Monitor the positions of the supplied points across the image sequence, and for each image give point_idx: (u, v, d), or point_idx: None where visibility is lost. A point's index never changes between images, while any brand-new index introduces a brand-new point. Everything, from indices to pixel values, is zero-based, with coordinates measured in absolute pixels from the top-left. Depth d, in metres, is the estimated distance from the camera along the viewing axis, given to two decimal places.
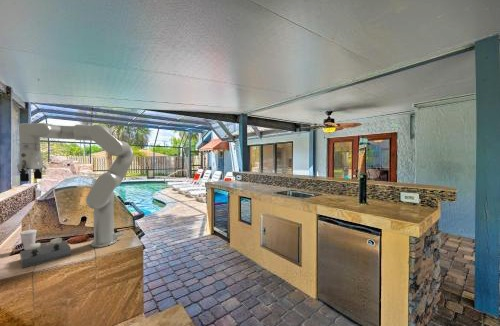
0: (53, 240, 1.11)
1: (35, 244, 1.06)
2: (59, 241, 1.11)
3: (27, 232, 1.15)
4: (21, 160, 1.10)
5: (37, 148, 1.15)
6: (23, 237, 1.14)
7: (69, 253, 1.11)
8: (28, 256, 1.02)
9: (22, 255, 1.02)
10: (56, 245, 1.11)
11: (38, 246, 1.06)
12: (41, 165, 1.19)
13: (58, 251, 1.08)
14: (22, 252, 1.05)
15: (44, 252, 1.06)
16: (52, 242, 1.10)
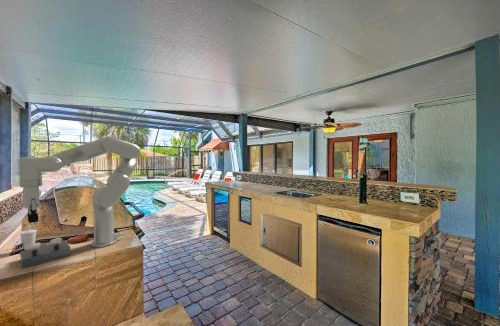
0: (53, 240, 1.11)
1: (35, 244, 1.06)
2: (59, 241, 1.11)
3: (27, 232, 1.15)
4: None
5: None
6: (23, 237, 1.14)
7: (69, 253, 1.11)
8: (28, 256, 1.02)
9: (22, 255, 1.02)
10: (56, 245, 1.11)
11: (38, 246, 1.06)
12: (24, 205, 1.00)
13: (58, 251, 1.08)
14: (22, 252, 1.05)
15: (44, 252, 1.06)
16: (52, 242, 1.10)
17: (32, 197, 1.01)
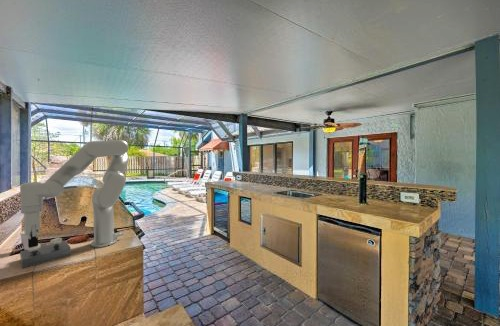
0: (53, 240, 1.11)
1: None
2: (59, 241, 1.11)
3: None
4: None
5: None
6: (23, 237, 1.14)
7: (69, 253, 1.11)
8: (28, 256, 1.02)
9: (22, 255, 1.02)
10: (56, 245, 1.11)
11: (38, 247, 1.06)
12: (25, 231, 1.01)
13: (58, 251, 1.08)
14: (22, 252, 1.05)
15: (44, 252, 1.06)
16: (52, 242, 1.10)
17: (33, 223, 1.01)
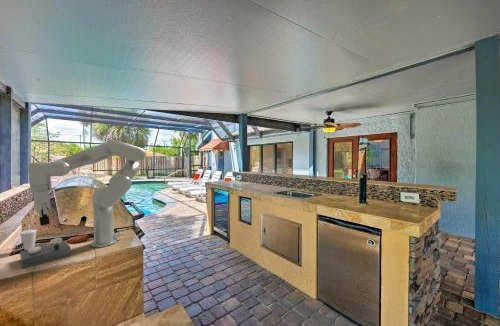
0: (53, 240, 1.11)
1: (35, 248, 1.06)
2: (59, 241, 1.11)
3: (27, 232, 1.15)
4: None
5: None
6: (23, 237, 1.14)
7: (69, 253, 1.11)
8: (28, 256, 1.02)
9: (22, 255, 1.02)
10: (56, 245, 1.11)
11: (38, 250, 1.06)
12: (36, 209, 1.03)
13: (58, 251, 1.08)
14: (22, 252, 1.05)
15: (44, 252, 1.06)
16: (52, 242, 1.10)
17: (43, 201, 1.04)
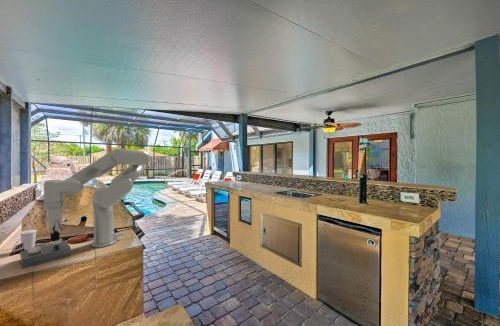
0: (53, 241, 1.11)
1: (35, 248, 1.06)
2: (59, 242, 1.11)
3: (27, 232, 1.15)
4: None
5: (44, 206, 1.08)
6: (23, 237, 1.14)
7: (69, 253, 1.11)
8: (28, 256, 1.02)
9: (22, 255, 1.02)
10: (56, 246, 1.11)
11: (38, 250, 1.06)
12: (48, 226, 1.07)
13: (58, 251, 1.08)
14: (22, 252, 1.05)
15: (44, 252, 1.06)
16: (52, 243, 1.10)
17: (55, 218, 1.07)
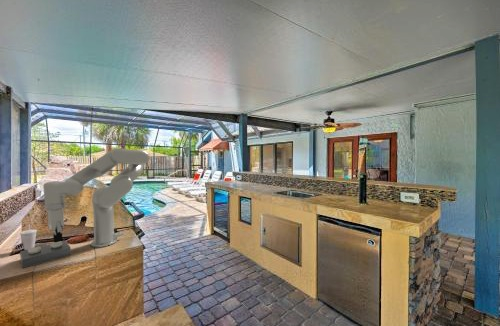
0: (53, 244, 1.11)
1: (35, 248, 1.06)
2: (59, 245, 1.11)
3: (27, 232, 1.15)
4: None
5: None
6: (23, 237, 1.14)
7: (69, 253, 1.11)
8: (28, 256, 1.02)
9: (22, 255, 1.02)
10: None
11: (38, 250, 1.06)
12: (50, 227, 1.08)
13: (58, 251, 1.08)
14: (22, 252, 1.05)
15: (44, 252, 1.06)
16: (52, 246, 1.10)
17: (57, 220, 1.08)
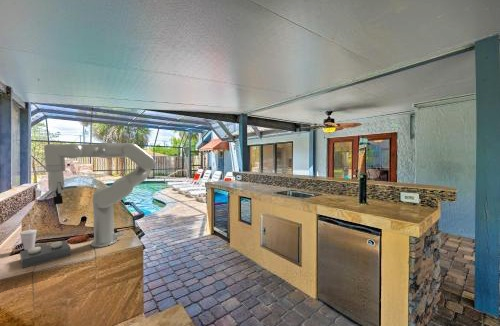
0: (53, 244, 1.11)
1: (35, 248, 1.06)
2: (59, 245, 1.11)
3: (27, 232, 1.15)
4: None
5: None
6: (23, 237, 1.14)
7: (69, 253, 1.11)
8: (28, 256, 1.02)
9: (22, 255, 1.02)
10: None
11: (38, 250, 1.06)
12: (51, 188, 1.09)
13: (58, 251, 1.08)
14: (22, 252, 1.05)
15: (44, 252, 1.06)
16: (52, 246, 1.10)
17: (58, 181, 1.09)
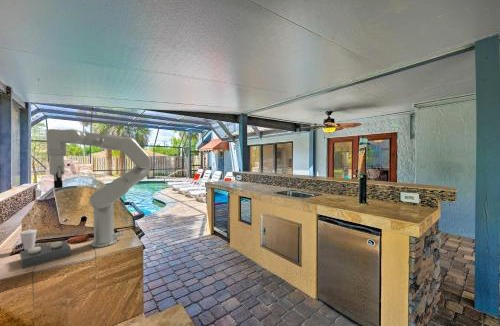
0: (53, 244, 1.11)
1: (35, 248, 1.06)
2: (59, 245, 1.11)
3: (27, 232, 1.15)
4: None
5: (47, 154, 1.13)
6: (23, 237, 1.14)
7: (69, 253, 1.11)
8: (28, 256, 1.02)
9: (22, 255, 1.02)
10: None
11: (38, 250, 1.06)
12: (51, 172, 1.11)
13: (58, 251, 1.08)
14: (22, 252, 1.05)
15: (44, 252, 1.06)
16: (52, 246, 1.10)
17: (58, 165, 1.12)
